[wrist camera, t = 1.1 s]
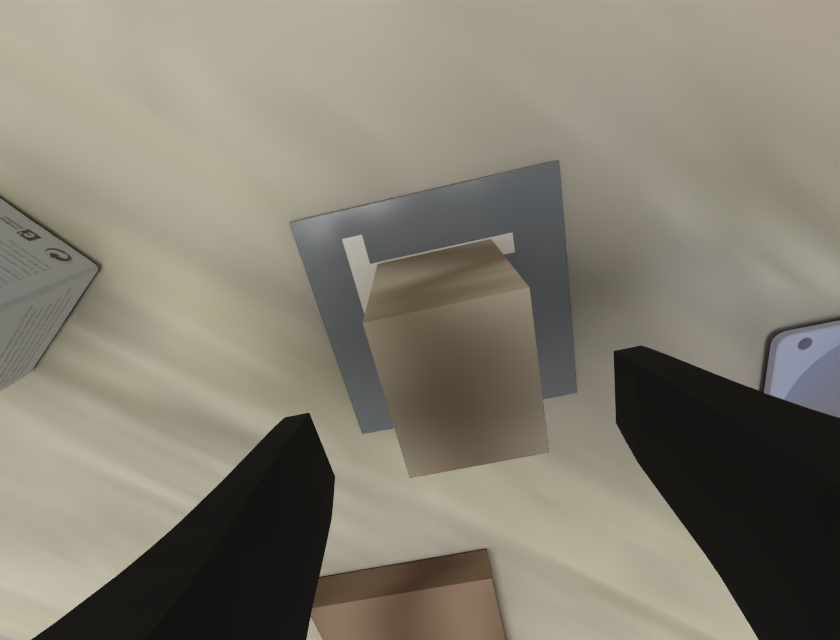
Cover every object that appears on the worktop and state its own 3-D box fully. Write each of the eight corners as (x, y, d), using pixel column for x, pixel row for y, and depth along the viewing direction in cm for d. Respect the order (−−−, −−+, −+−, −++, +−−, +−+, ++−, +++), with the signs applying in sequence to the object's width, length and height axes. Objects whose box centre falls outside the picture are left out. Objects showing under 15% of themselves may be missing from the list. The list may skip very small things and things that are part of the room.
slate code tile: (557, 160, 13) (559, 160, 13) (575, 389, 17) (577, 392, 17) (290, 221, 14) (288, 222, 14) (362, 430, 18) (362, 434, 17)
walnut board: (486, 549, 21) (491, 578, 19) (509, 651, 24) (515, 682, 23) (313, 578, 21) (306, 609, 20) (360, 674, 25) (358, 706, 24)
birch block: (490, 238, 14) (529, 287, 10) (509, 363, 16) (548, 452, 12) (377, 263, 14) (362, 322, 10) (409, 383, 16) (409, 478, 12)
